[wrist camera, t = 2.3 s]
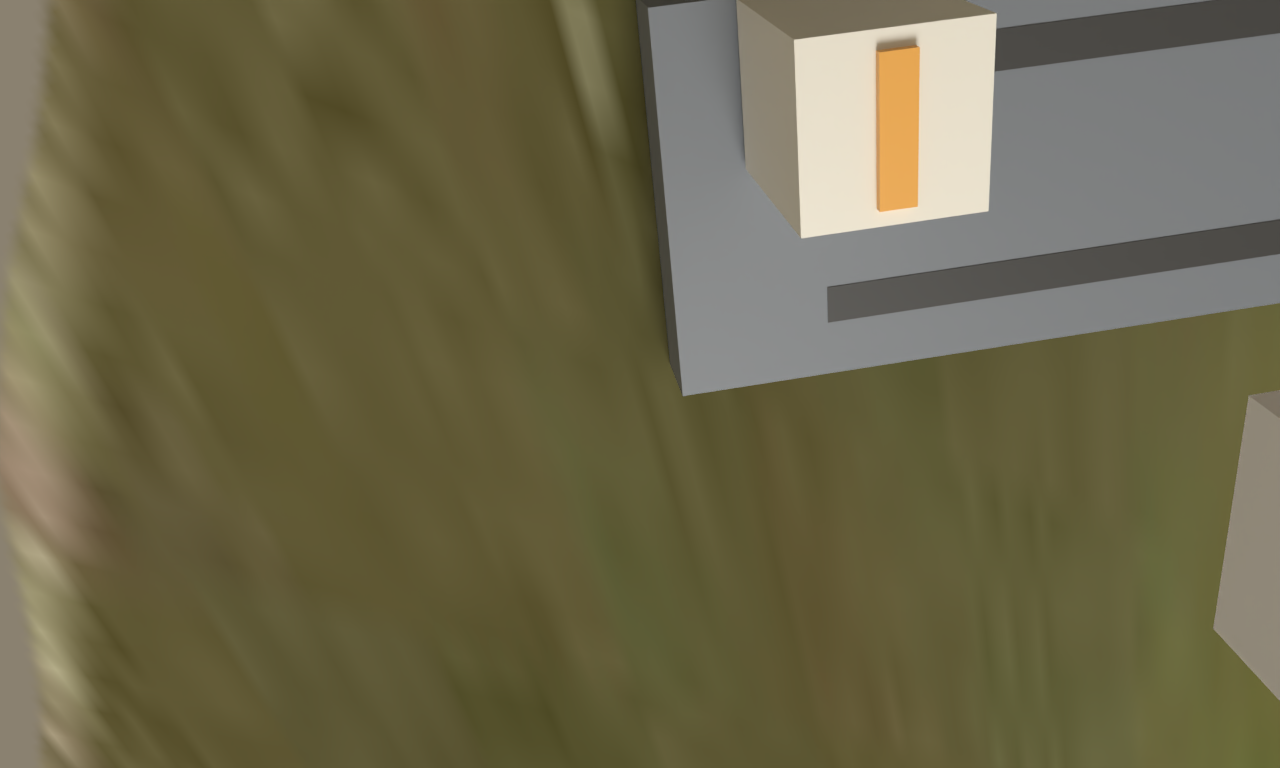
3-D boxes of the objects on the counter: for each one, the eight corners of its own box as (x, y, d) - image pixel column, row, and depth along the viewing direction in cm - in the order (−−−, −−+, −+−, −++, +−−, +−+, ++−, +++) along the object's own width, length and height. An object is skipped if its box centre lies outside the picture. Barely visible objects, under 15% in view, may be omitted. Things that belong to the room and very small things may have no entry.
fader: (736, -2, 27) (796, 41, 22) (906, -23, 27) (1001, 14, 23) (745, 169, 29) (803, 241, 24) (905, 147, 29) (992, 214, 24)
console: (635, -6, 29) (647, 8, 27) (1825, -155, 31) (1909, -152, 30) (670, 363, 33) (683, 396, 31) (1706, 204, 36) (1772, 226, 34)
